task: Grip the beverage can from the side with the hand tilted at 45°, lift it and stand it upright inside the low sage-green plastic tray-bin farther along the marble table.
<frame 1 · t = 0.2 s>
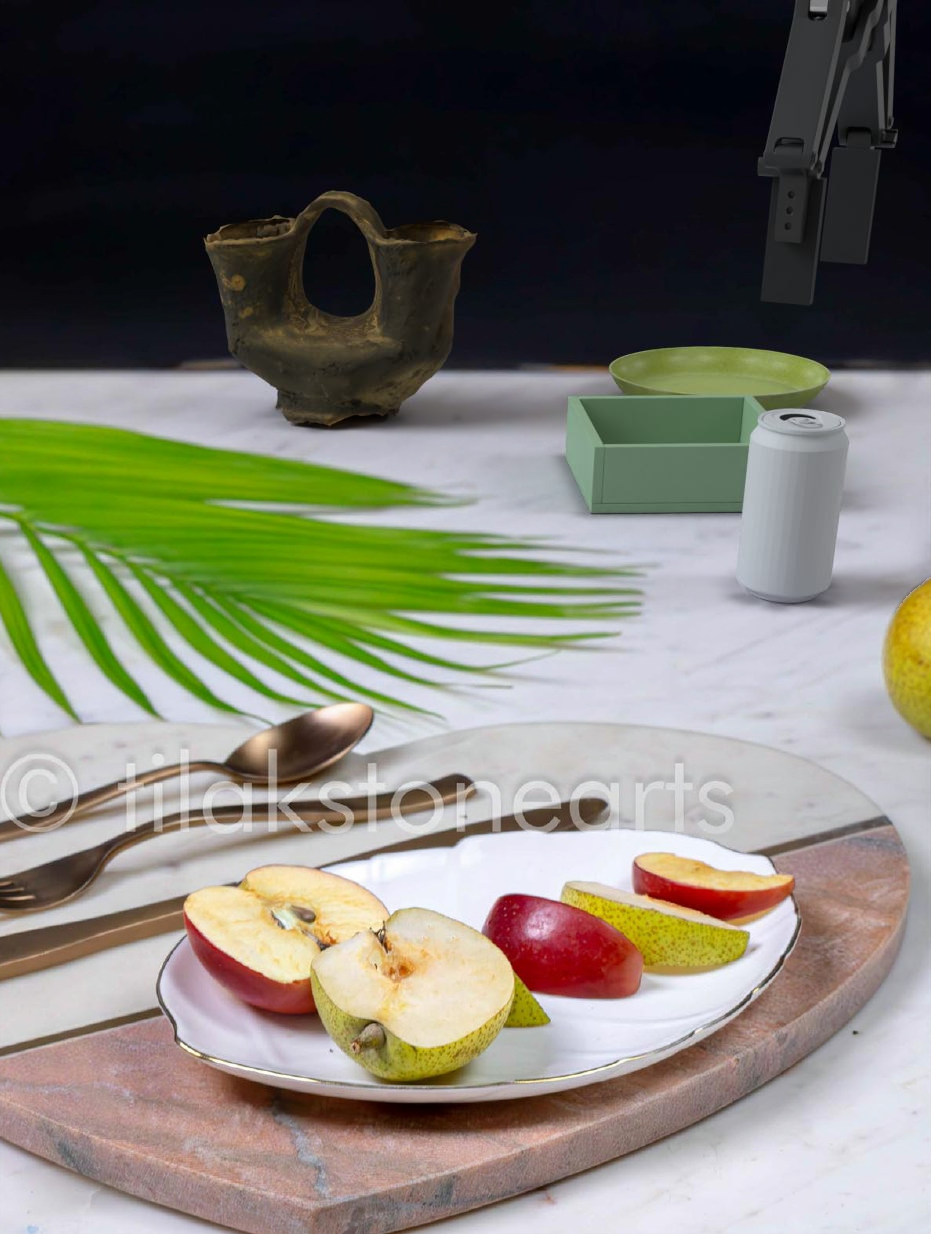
hand: (816, 281, 99), 22 cm above the table, tool pointing down, fingers open, 13 cm apart
saucer: (715, 404, 163), on the table
pottery vessel: (340, 418, 158), on the table
beverage can: (781, 592, 117), on the table
bin: (671, 483, 139), on the table
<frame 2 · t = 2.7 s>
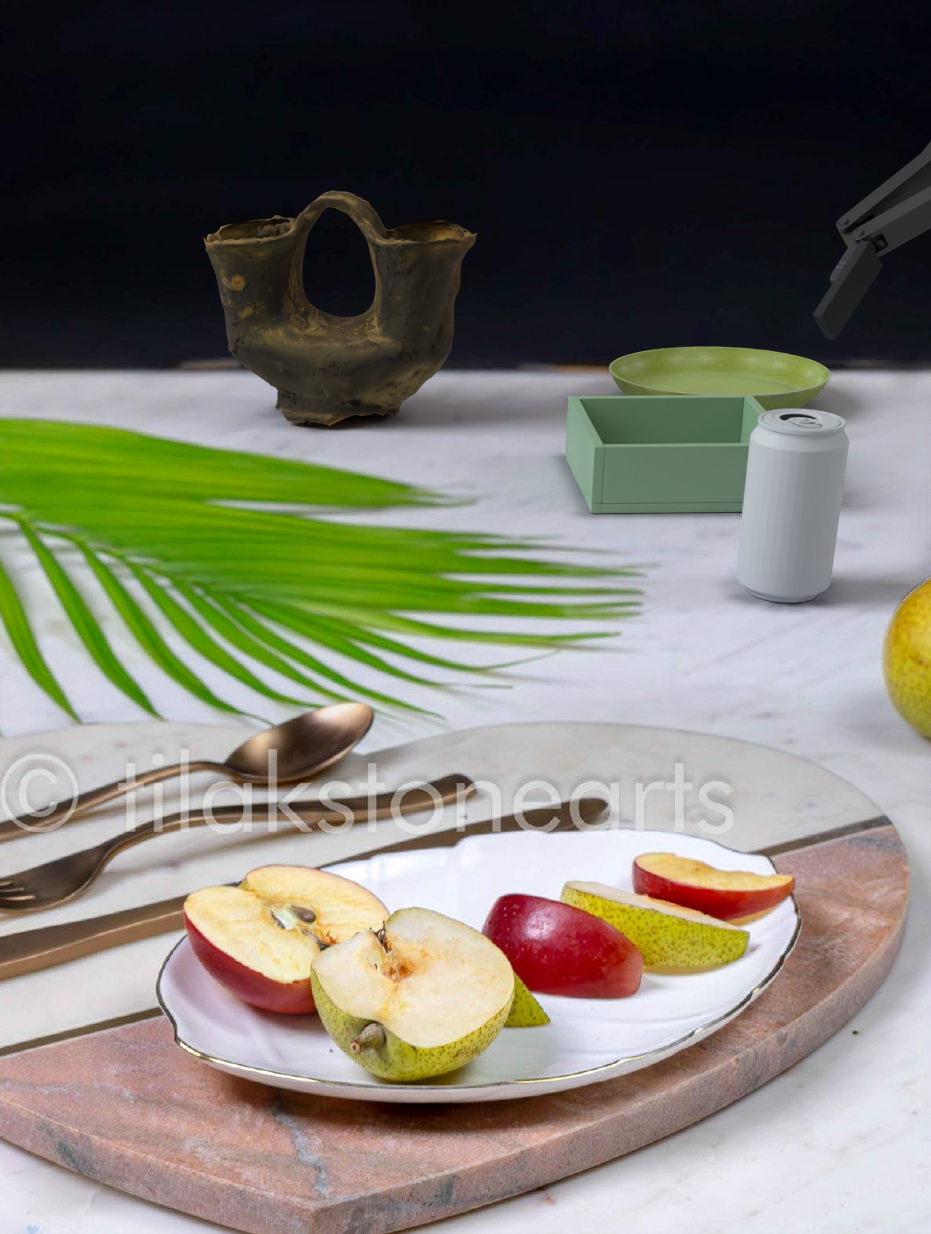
hand: (904, 345, 116), 15 cm above the table, tool tilted 45°, fingers open, 13 cm apart
nothing on the table moved.
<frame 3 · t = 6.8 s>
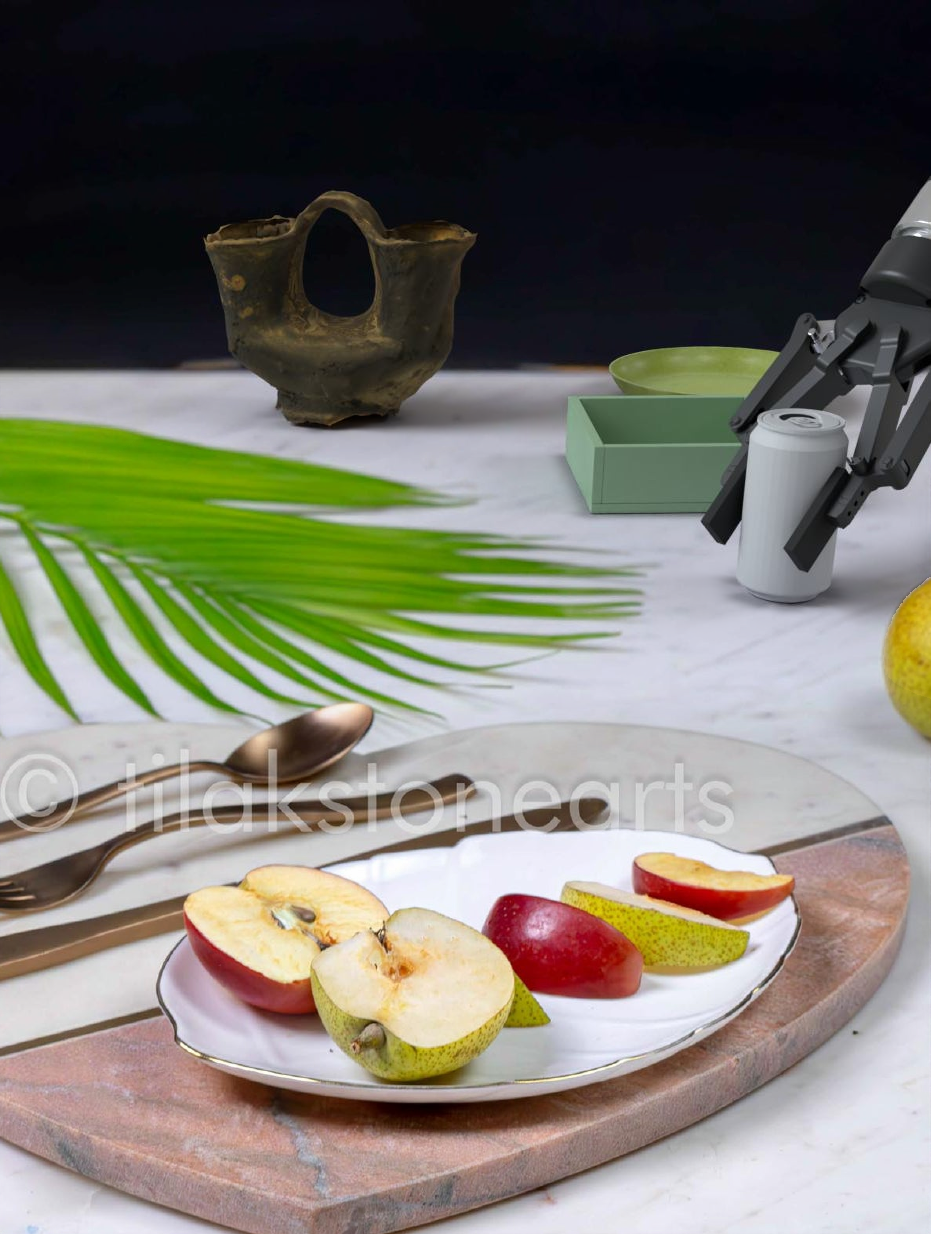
hand: (753, 546, 113), 4 cm above the table, tool tilted 45°, fingers closed on beverage can, 6 cm apart
beverage can: (781, 592, 117), on the table, touching gripper
everything else where it was.
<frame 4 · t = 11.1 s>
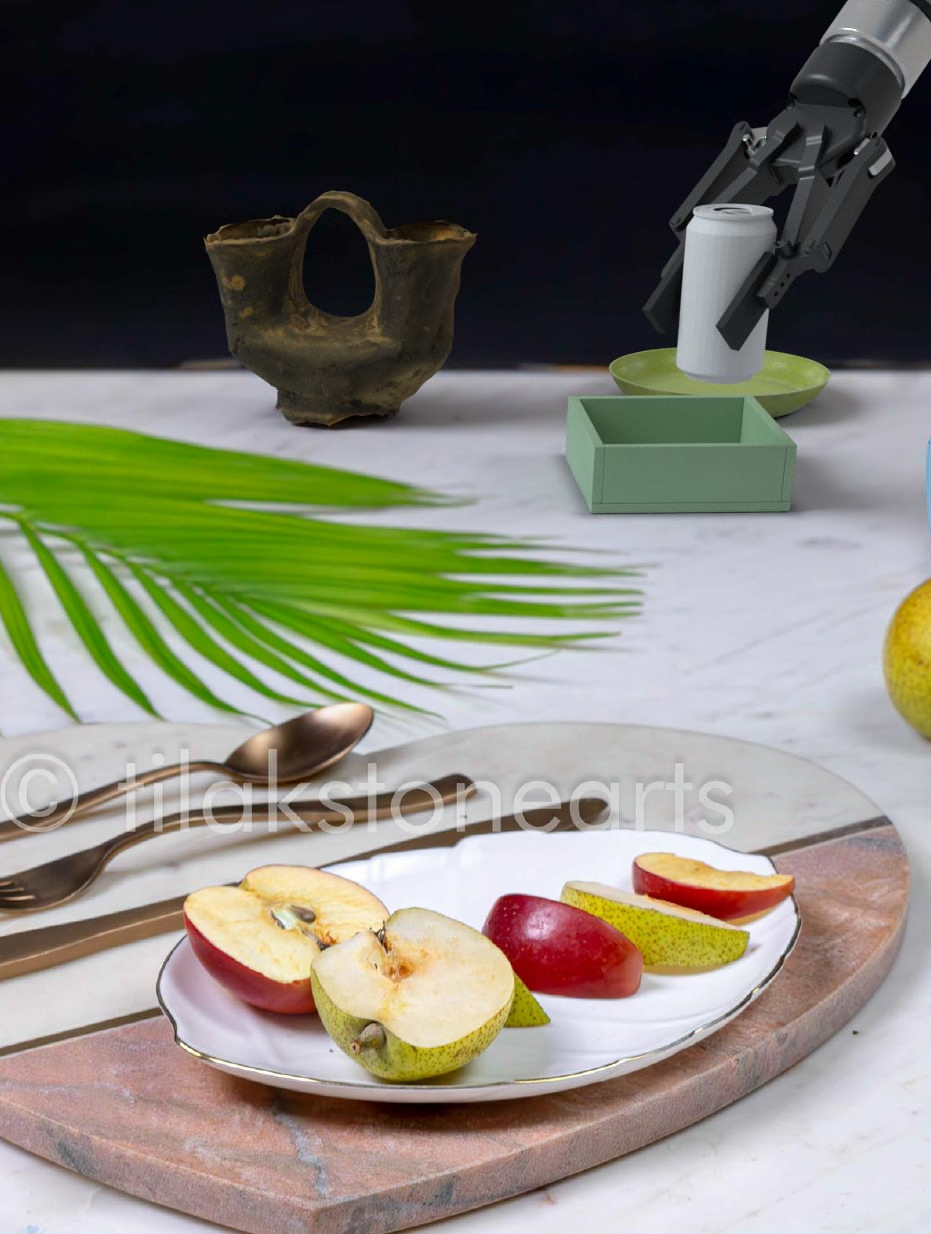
hand: (690, 329, 123), 15 cm above the table, tool tilted 45°, fingers closed on beverage can, 6 cm apart
beverage can: (718, 378, 127), point 11 cm above the table, touching gripper
everything else where it was.
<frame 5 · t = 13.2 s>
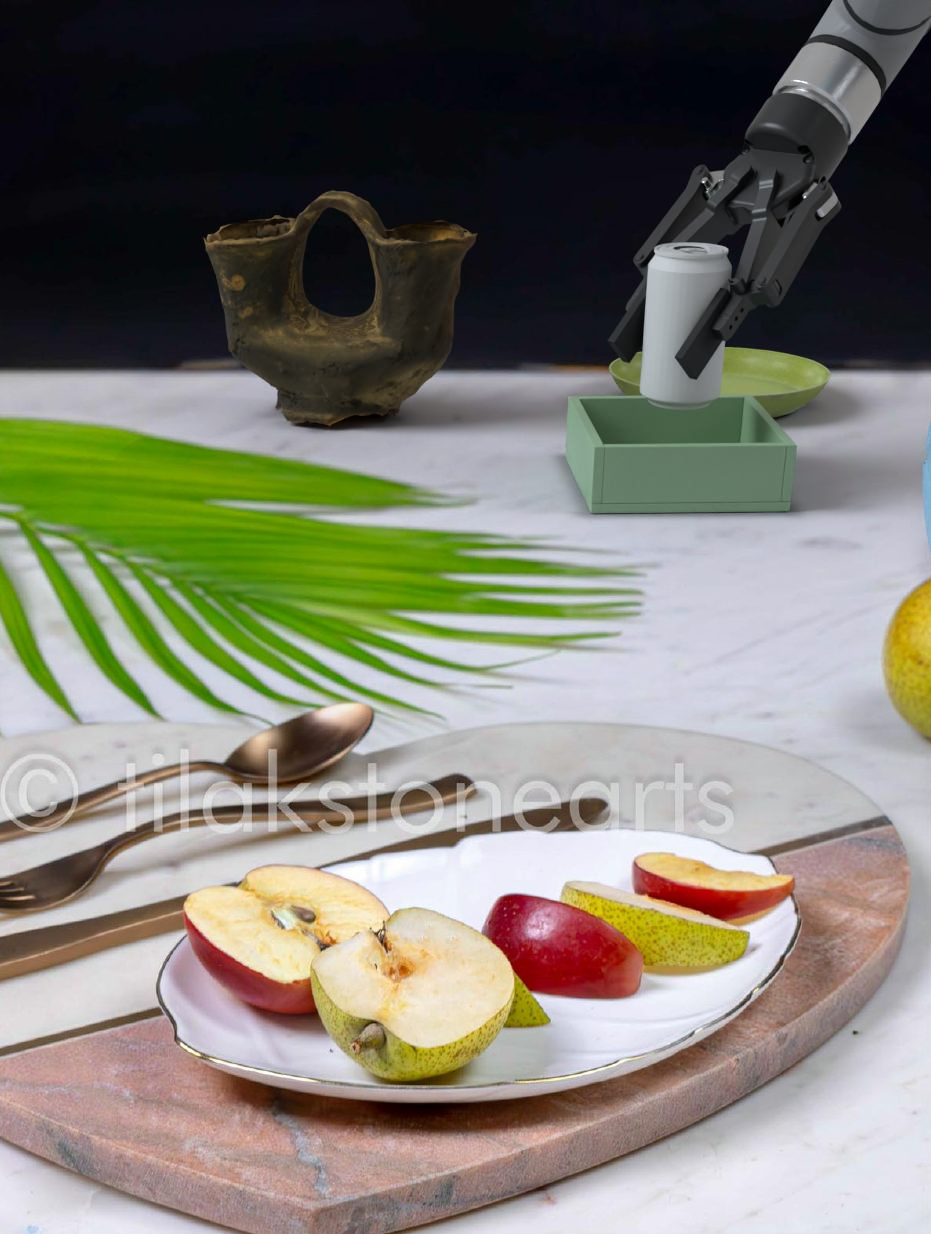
hand: (651, 359, 132), 11 cm above the table, tool tilted 45°, fingers closed on beverage can, 6 cm apart
beverage can: (679, 404, 136), point 6 cm above the table, touching gripper
everything else where it was.
when the fingers open (5 cm above the table, at t = 15.2 s): beverage can stays where it is, resting on bin.
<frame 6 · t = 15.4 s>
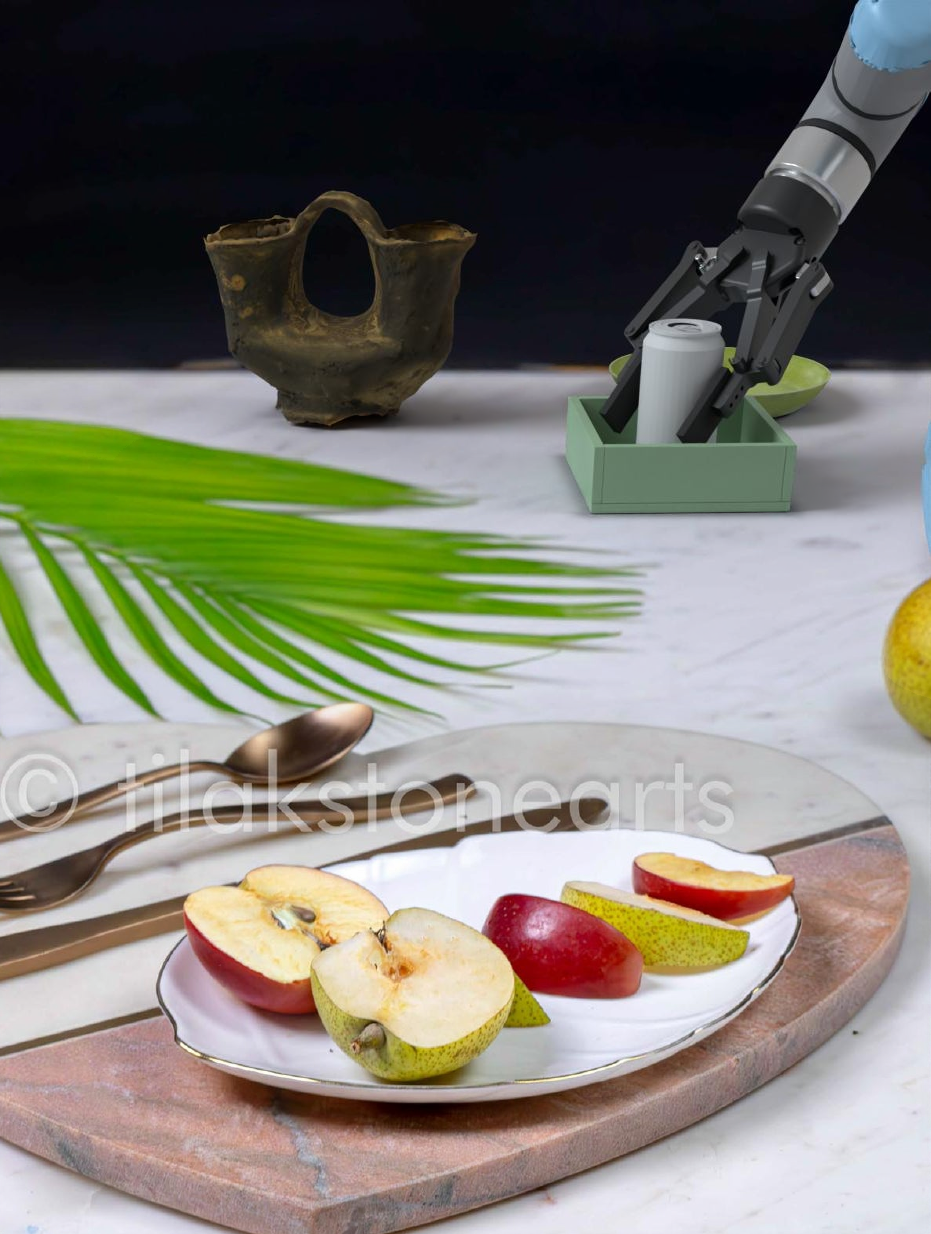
hand: (647, 433, 135), 5 cm above the table, tool tilted 45°, fingers open, 8 cm apart
beverage can: (673, 475, 139), point 1 cm above the table, touching bin
everything else where it was.
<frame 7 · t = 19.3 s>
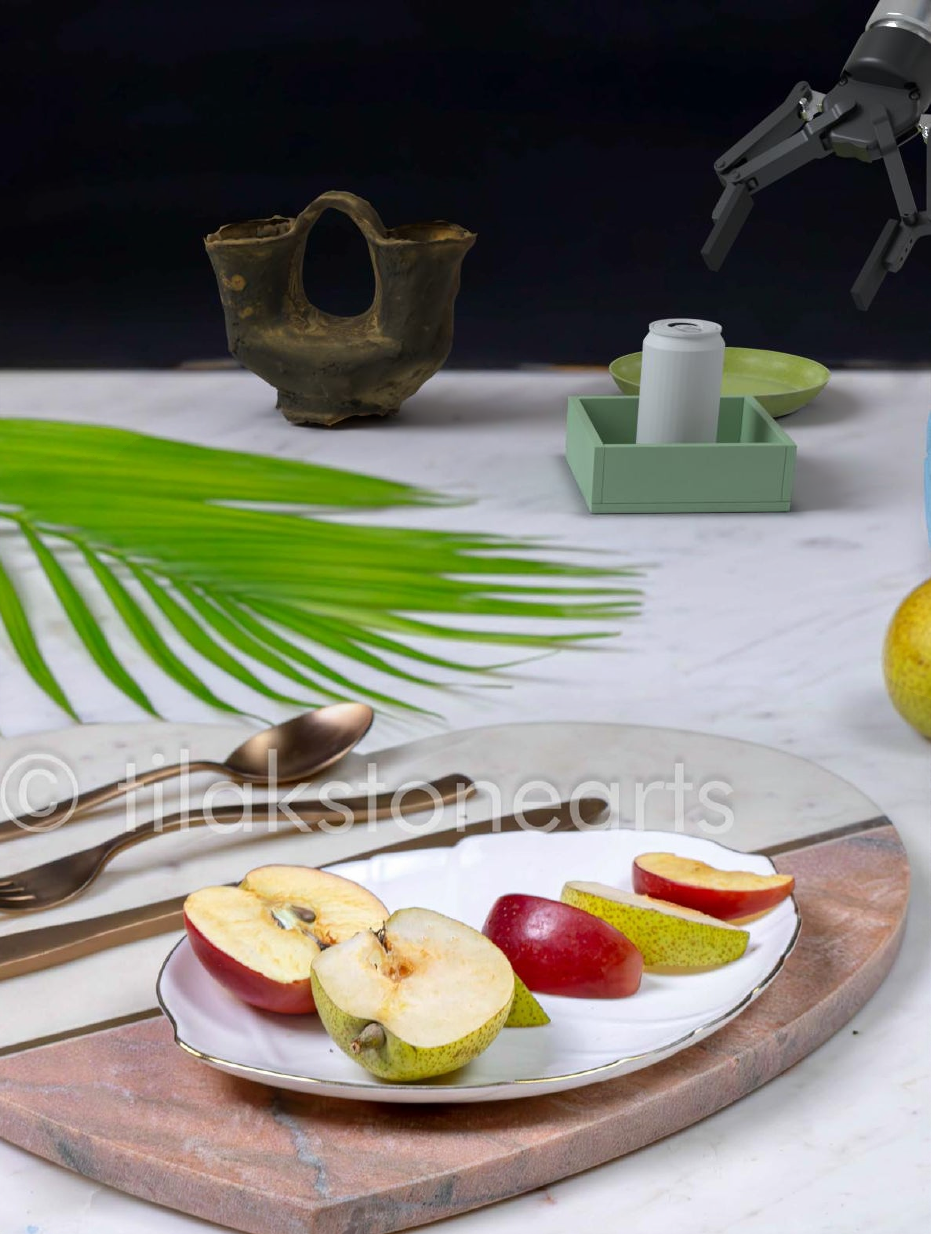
hand: (781, 281, 136), 15 cm above the table, tool tilted 40°, fingers open, 13 cm apart
nothing on the table moved.
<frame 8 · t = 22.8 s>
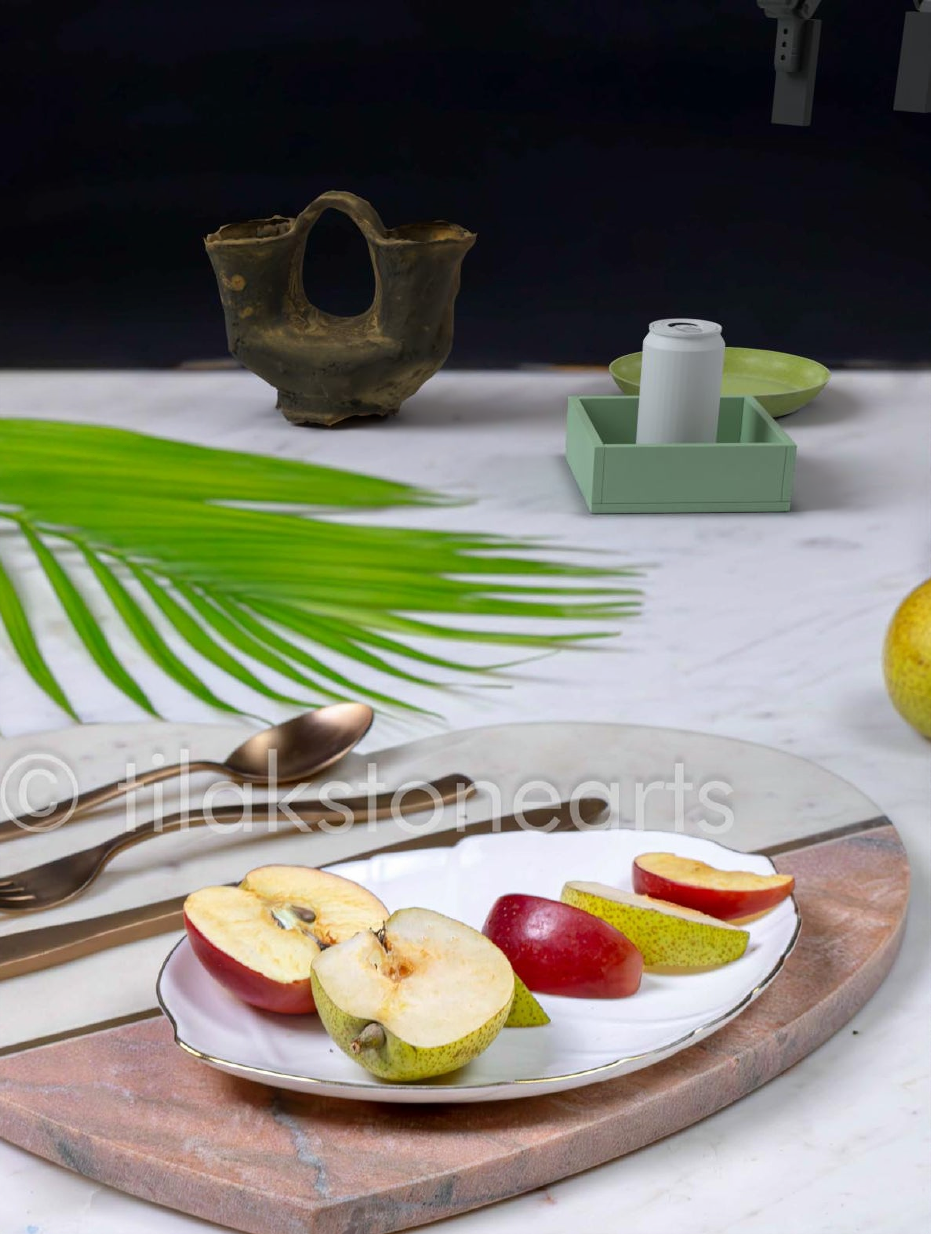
hand: (853, 118, 119), 29 cm above the table, tool pointing down, fingers open, 13 cm apart
nothing on the table moved.
at the end: beverage can inside the target area in the bin (0.1 cm from its centre), point 0.6 cm above the bin's base; beverage can tilted 0°; the gripper is holding nothing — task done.
